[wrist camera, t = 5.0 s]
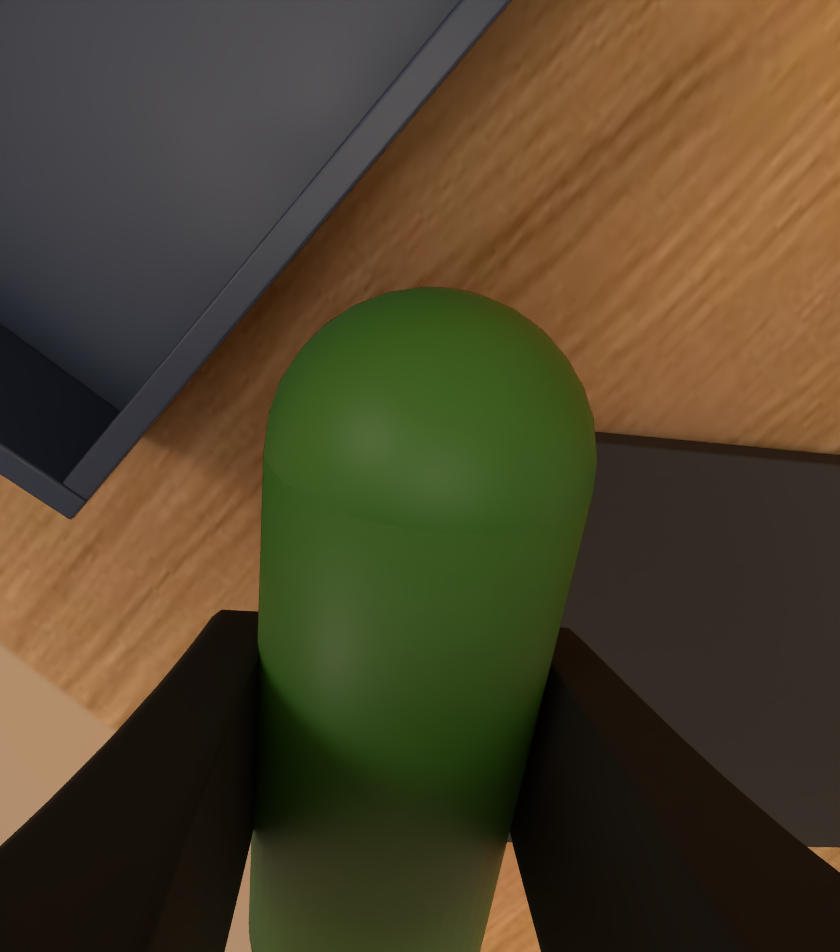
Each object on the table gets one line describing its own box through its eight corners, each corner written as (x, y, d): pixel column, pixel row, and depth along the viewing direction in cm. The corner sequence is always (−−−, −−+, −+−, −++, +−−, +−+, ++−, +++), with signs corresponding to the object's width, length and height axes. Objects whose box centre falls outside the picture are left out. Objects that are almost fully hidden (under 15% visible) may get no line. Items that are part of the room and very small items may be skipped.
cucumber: (451, 877, 12) (481, 1111, 9) (262, 876, 11) (228, 1120, 8) (573, 283, 8) (703, 350, 5) (288, 249, 7) (241, 301, 4)
